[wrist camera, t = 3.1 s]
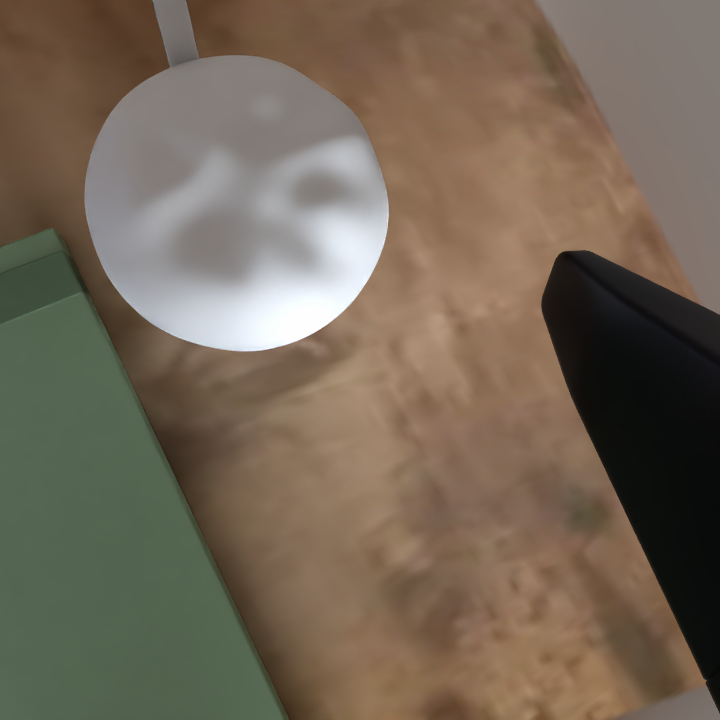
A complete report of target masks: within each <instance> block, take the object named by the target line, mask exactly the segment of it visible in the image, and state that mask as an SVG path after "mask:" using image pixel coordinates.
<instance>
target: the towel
mask: <svg viewBox="0 0 720 720" xmlns="http://www.w3.org/2000/svg"><path fill="white" fill-rule="evenodd" d="M0 720H289V718H288V716H287V714H286V712H285V709H284V707H283V705H282V703H281V701H280V699H279V697H278V695H277V692H276V690H275V688H274V686H273V684H272V682H271V680H270V677H269V675H268V673H267V671H266V669H265V667H264V665H263V663H262V660H261V658H260V656H259V654H258V652H257V650H256V648H255V646H254V643H253V641H252V639H251V637H250V635H249V633H248V631H247V629H246V626H245V624H244V622H243V620H242V618H241V616H240V614H239V612H238V609H237V607H236V605H235V603H234V601H233V599H232V597H231V595H230V592H229V590H228V588H227V586H226V584H225V582H224V580H223V578H222V575H221V573H220V571H219V569H218V567H217V565H216V563H215V561H214V558H213V556H212V554H211V552H210V550H209V548H208V546H207V544H206V541H205V539H204V537H203V535H202V533H201V531H200V529H199V527H198V524H197V522H196V520H195V518H194V516H193V514H192V512H191V510H190V507H189V505H188V503H187V501H186V499H185V497H184V495H183V493H182V490H181V488H180V486H179V484H178V482H177V480H176V478H175V476H174V473H173V471H172V469H171V467H170V465H169V463H168V461H167V459H166V456H165V454H164V452H163V450H162V448H161V446H160V444H159V441H158V439H157V437H156V435H155V433H154V431H153V429H152V427H151V424H150V422H149V420H148V418H147V416H146V414H145V412H144V410H143V407H142V405H141V403H140V401H139V399H138V397H137V395H136V393H135V390H134V388H133V386H132V384H131V382H130V380H129V378H128V376H127V373H126V371H125V369H124V367H123V365H122V363H121V361H120V359H119V356H118V354H117V352H116V350H115V348H114V346H113V344H112V342H111V339H110V337H109V335H108V333H107V331H106V329H105V327H104V325H103V322H102V320H101V318H100V316H99V314H98V312H97V310H96V308H95V305H94V303H93V301H92V299H91V297H90V295H89V292H88V290H87V288H86V286H85V284H84V282H83V280H82V278H81V275H80V273H79V271H78V269H77V267H76V265H75V263H74V261H73V259H72V257H71V254H70V252H69V250H68V248H67V246H66V244H65V242H64V240H63V237H62V236H61V235H60V234H59V233H58V232H57V231H56V230H55V229H53V228H49V229H46V230H44V231H41V232H38V233H36V234H33V235H30V236H28V237H25V238H22V239H20V240H17V241H14V242H11V243H9V244H6V245H3V246H1V247H0Z"/></svg>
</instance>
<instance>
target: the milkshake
mask: <svg viewBox="0 0 720 720" xmlns="http://www.w3.org/2000/svg"><path fill="white" fill-rule="evenodd" d="M151 1H152V4H153V8H154V12H155V15H156V19H157V23H158V26H159V30H160V34H161V37H162V41H163V45H164V48H165V52H166V56H167V59H168V63H169V67H170V68H169V69H166V70H164V71H162V72H160V73H158V74H156V75H154V76H152V77H151V78H149V79H147V80H145V81H144V82H142V83H141V84H139V85H138V86H136V87H135V88H134V89H132V90H131V91H130V92H129V93H128V94H127V95H125V96H124V97H123V98H122V99H121V100H120V102H119V103H118V104H117V105H116V106H115V108H114V109H113V110H112V112H111V113H110V115H109V116H108V118H107V119H106V121H105V123H104V125H103V127H102V129H101V131H100V133H99V135H98V137H97V140H96V142H95V145H94V147H93V150H92V153H91V156H90V160H89V164H88V168H87V174H86V180H85V192H84V200H85V211H86V217H87V222H88V226H89V230H90V234H91V237H92V241H93V244H94V247H95V250H96V252H97V255H98V257H99V260H100V262H101V264H102V266H103V268H104V270H105V272H106V274H107V276H108V278H109V279H110V281H111V282H112V284H113V285H114V287H115V288H116V289H117V291H118V292H119V293H120V294H121V296H122V297H123V298H124V299H125V300H126V301H127V302H128V303H129V304H130V305H131V306H132V307H133V308H134V309H135V310H136V311H137V312H138V313H139V314H140V315H141V316H143V317H144V318H145V319H146V320H148V321H149V322H150V323H152V324H153V325H155V326H156V327H158V328H159V329H161V330H163V331H165V332H167V333H169V334H171V335H173V336H176V337H178V338H181V339H183V340H186V341H189V342H193V343H196V344H199V345H203V346H207V347H212V348H217V349H223V350H231V351H260V350H266V349H271V348H276V347H280V346H283V345H287V344H290V343H293V342H295V341H298V340H300V339H302V338H305V337H307V336H309V335H311V334H313V333H314V332H316V331H318V330H319V329H321V328H323V327H324V326H326V325H327V324H328V323H330V322H331V321H332V320H334V319H335V318H336V317H337V316H339V315H340V314H341V313H342V312H343V311H344V310H345V309H346V308H347V307H348V306H349V305H350V304H351V303H352V302H353V300H354V299H355V298H356V297H357V295H358V294H359V293H360V291H361V290H362V288H363V287H364V285H365V284H366V282H367V281H368V279H369V277H370V275H371V274H372V272H373V270H374V268H375V266H376V264H377V262H378V259H379V257H380V255H381V252H382V249H383V246H384V242H385V238H386V233H387V227H388V197H387V191H386V186H385V182H384V178H383V175H382V172H381V169H380V166H379V163H378V160H377V157H376V155H375V152H374V149H373V147H372V144H371V142H370V139H369V137H368V135H367V133H366V131H365V129H364V127H363V125H362V123H361V122H360V120H359V119H358V117H357V116H356V115H355V113H354V112H353V111H352V110H351V109H350V108H349V107H348V106H347V105H345V104H344V103H343V102H342V101H341V100H339V99H338V98H337V97H335V96H334V95H333V94H331V93H330V92H328V91H327V90H325V89H324V88H322V87H321V86H319V85H318V84H316V83H315V82H313V81H312V80H310V79H309V78H307V77H306V76H304V75H303V74H301V73H300V72H298V71H296V70H295V69H293V68H291V67H289V66H287V65H285V64H282V63H280V62H277V61H274V60H271V59H267V58H262V57H256V56H246V55H227V56H215V57H208V58H202V59H200V58H199V53H198V49H197V44H196V40H195V35H194V31H193V26H192V21H191V17H190V12H189V8H188V3H187V0H151Z"/></svg>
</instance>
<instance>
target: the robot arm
mask: <svg viewBox="0 0 720 720" xmlns="http://www.w3.org/2000/svg"><path fill="white" fill-rule="evenodd" d="M541 307H542V313H543V316H544V319H545V322H546V325H547V328H548V331H549V334H550V337H551V340H552V343H553V346H554V349H555V352H556V355H557V358H558V361H559V364H560V367H561V370H562V373H563V376H564V378H565V381H566V384H567V387H568V389H569V392H570V395H571V397H572V399H573V402H574V404H575V406H576V409H577V411H578V413H579V415H580V417H581V419H582V421H583V424H584V426H585V428H586V430H587V432H588V434H589V436H590V438H591V441H592V443H593V445H594V447H595V449H596V451H597V453H598V455H599V457H600V460H601V462H602V464H603V466H604V468H605V470H606V472H607V474H608V477H609V479H610V481H611V483H612V485H613V487H614V489H615V491H616V494H617V496H618V498H619V500H620V502H621V504H622V506H623V508H624V510H625V513H626V515H627V517H628V519H629V521H630V523H631V525H632V527H633V530H634V532H635V534H636V536H637V538H638V540H639V542H640V544H641V547H642V549H643V551H644V553H645V555H646V557H647V559H648V561H649V563H650V566H651V568H652V570H653V572H654V574H655V576H656V578H657V580H658V583H659V585H660V587H661V589H662V591H663V593H664V595H665V597H666V600H667V602H668V604H669V606H670V608H671V610H672V612H673V614H674V616H675V619H676V621H677V623H678V625H679V627H680V629H681V631H682V633H683V636H684V638H685V640H686V642H687V644H688V646H689V648H690V650H691V653H692V655H693V657H694V659H695V661H696V663H697V665H698V667H699V669H700V672H701V674H702V676H703V678H704V679H705V680H707V681H706V685H707V687H708V689H709V692H710V694H711V696H712V698H713V700H714V702H715V704H716V706H717V708H718V711H719V713H720V315H719V314H717V313H715V312H713V311H711V310H709V309H707V308H705V307H703V306H701V305H699V304H697V303H695V302H693V301H691V300H689V299H687V298H685V297H682V296H680V295H678V294H676V293H674V292H672V291H670V290H668V289H666V288H664V287H662V286H660V285H658V284H656V283H654V282H652V281H650V280H648V279H646V278H644V277H642V276H640V275H638V274H636V273H633V272H631V271H629V270H627V269H625V268H623V267H621V266H619V265H617V264H615V263H613V262H611V261H609V260H607V259H605V258H603V257H601V256H599V255H597V254H595V253H593V252H590V251H586V250H582V251H564V252H562V253H560V254H559V255H558V257H557V258H556V260H555V262H554V265H553V268H552V271H551V273H550V276H549V279H548V282H547V285H546V287H545V290H544V293H543V296H542V302H541Z"/></svg>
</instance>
